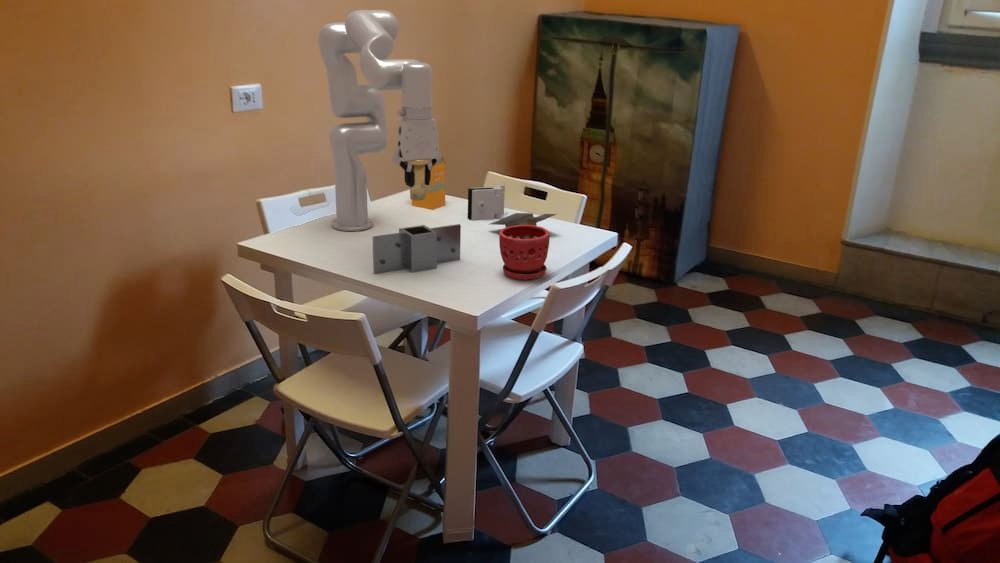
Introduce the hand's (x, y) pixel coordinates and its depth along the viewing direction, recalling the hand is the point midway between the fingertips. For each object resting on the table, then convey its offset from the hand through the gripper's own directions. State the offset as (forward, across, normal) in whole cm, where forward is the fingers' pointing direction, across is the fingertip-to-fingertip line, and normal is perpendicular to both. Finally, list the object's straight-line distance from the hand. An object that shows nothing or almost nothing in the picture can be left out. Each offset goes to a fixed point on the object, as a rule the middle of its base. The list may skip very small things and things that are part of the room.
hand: (417, 184), depth 203 cm
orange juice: (+23, +30, +53) cm, 65 cm away
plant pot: (+23, +22, -18) cm, 36 cm away
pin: (+4, 0, 0) cm, 4 cm away
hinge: (+23, +41, +32) cm, 57 cm away
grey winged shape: (+23, +41, +12) cm, 49 cm away
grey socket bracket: (+23, 0, 0) cm, 23 cm away
